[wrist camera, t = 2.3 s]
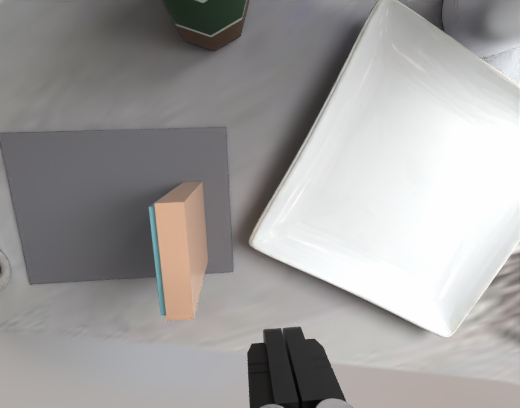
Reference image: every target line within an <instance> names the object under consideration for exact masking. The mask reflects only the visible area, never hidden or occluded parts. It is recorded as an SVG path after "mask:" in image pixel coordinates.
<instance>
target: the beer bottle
mask: <svg viewBox="0 0 520 408" xmlns="http://www.w3.org/2000/svg"><path fill="white" fill-rule="evenodd" d="M162 2H163V4H164V5H165V7H166V9H167V11H168V13H169V14H170V16H171V18H172V20H173V22H174V23H175V25H176V27H177V29H178V31H179V32H180V34H181V36H182V37H183V39H184V40H185V41H186V42H189V43H192V44H195V45H198V46H201V47H204V48H207V49H210V50H213V51H216V50H217V49H219V48H221V47H223V46H224V45H226V44H228V43H229V42H231V41H233V40H235V39H236V38H238V37H240V36H241V32H242V28H243V24H244V20H245V16H246V12H247V8H248V4H249V0H162Z"/></svg>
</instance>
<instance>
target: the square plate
mask: <svg viewBox="0 0 520 408" xmlns="http://www.w3.org/2000/svg"><path fill="white" fill-rule="evenodd" d="M519 242H520V84H518V83H517V82H515V81H514V80H512V79H511V78H509V77H508V76H506V75H505V74H503V73H502V72H500V71H499V70H497V69H496V68H494V67H493V66H492V65H490V64H489V63H487V62H486V61H484V60H483V59H481V58H480V57H479V56H477V55H476V54H474V53H473V52H471V51H470V50H469V49H467V48H466V47H464V46H463V45H462V44H460V43H459V42H457V41H456V40H455V39H453V38H452V37H450V36H449V35H448V34H446V33H445V32H443V31H442V30H440V29H439V28H437V27H436V26H435V25H433V24H432V23H430V22H429V21H428V20H426V19H425V18H423V17H422V16H421V15H419V14H418V13H416V12H415V11H413V10H412V9H410V8H409V7H407V6H406V5H404V4H402V3H401V2H399V1H398V0H378V1H377V3H376V4H375V6H374V7H373V9H372V11H371V13H370V14H369V16H368V18H367V20H366V22H365V24H364V25H363V27H362V29H361V31H360V33H359V35H358V37H357V39H356V41H355V43H354V45H353V47H352V49H351V51H350V53H349V55H348V57H347V59H346V61H345V63H344V65H343V67H342V69H341V71H340V73H339V75H338V77H337V79H336V81H335V83H334V85H333V87H332V89H331V91H330V93H329V95H328V97H327V99H326V101H325V103H324V105H323V107H322V108H321V110H320V112H319V114H318V116H317V118H316V120H315V122H314V124H313V125H312V127H311V129H310V131H309V133H308V135H307V136H306V138H305V140H304V142H303V144H302V145H301V147H300V149H299V151H298V153H297V154H296V156H295V158H294V160H293V161H292V163H291V165H290V167H289V168H288V170H287V172H286V174H285V175H284V177H283V179H282V180H281V182H280V184H279V185H278V187H277V189H276V190H275V192H274V194H273V195H272V197H271V199H270V201H269V202H268V204H267V206H266V207H265V209H264V211H263V213H262V214H261V216H260V218H259V220H258V221H257V223H256V225H255V227H254V229H253V231H252V233H251V235H250V238H249V245H250V246H251V247H252V248H254V249H255V250H257V251H259V252H261V253H263V254H265V255H267V256H269V257H271V258H274V259H276V260H278V261H280V262H282V263H285V264H287V265H289V266H291V267H294V268H296V269H298V270H301V271H303V272H305V273H308V274H310V275H312V276H314V277H317V278H319V279H321V280H323V281H326V282H328V283H330V284H332V285H334V286H336V287H339V288H341V289H343V290H345V291H347V292H350V293H352V294H354V295H356V296H358V297H360V298H362V299H364V300H366V301H368V302H371V303H373V304H375V305H377V306H379V307H381V308H383V309H385V310H387V311H389V312H391V313H393V314H395V315H397V316H399V317H401V318H403V319H405V320H407V321H408V322H411V323H413V324H415V325H417V326H419V327H421V328H423V329H425V330H427V331H429V332H431V333H434V334H436V335H438V336H441V337H444V338H448V337H451V336H452V335H453V334H454V333H455V332H456V330H457V329H458V327H459V326H460V324H461V323H462V322H463V320H464V319H465V318H466V316H467V315H468V313H469V312H470V311H471V309H472V308H473V307H474V305H475V304H476V302H477V301H478V300H479V298H480V297H481V295H482V294H483V293H484V291H485V290H486V289H487V287H488V286H489V284H490V283H491V282H492V280H493V279H494V277H495V276H496V275H497V273H498V272H499V270H500V269H501V267H502V266H503V265H504V263H505V262H506V260H507V259H508V258H509V256H510V255H511V253H512V252H513V250H514V249H515V248H516V246H517V245H518V243H519Z"/></svg>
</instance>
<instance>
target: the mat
mask: <svg viewBox="0 0 520 408" xmlns="http://www.w3.org/2000/svg"><path fill="white" fill-rule="evenodd" d="M0 143H1V148H2V152H3V157H4V162H5V167H6V171H7V176H8V181H9V186H10V190H11V195H12V200H13V205H14V209H15V214H16V219H17V224H18V228H19V233H20V238H21V243H22V247H23V252H24V257H25V262H26V266H27V271H28V276H29V281H30V284H45V283H61V282H77V281H94V280H110V279H126V278H143V277H156V269H155V260H154V251H153V242H152V233H151V224H150V215H149V206H151V205H152V204H153V203H155V202H156V201H158V200H159V199H160V198H162V197H163V196H165V195H166V194H167V193H169V192H170V191H171V190H173V189H174V188H176V187H177V186H179V185H180V184H181V183H183V182H202V183H203V197H204V211H205V225H206V239H207V254H208V263H207V267H206V271H205V274H208V273H224V272H233V255H232V236H231V217H230V198H229V178H228V159H227V140H226V127H213V128H174V129H136V130H97V131H58V132H20V133H0Z"/></svg>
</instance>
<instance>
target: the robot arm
mask: <svg viewBox="0 0 520 408" xmlns="http://www.w3.org/2000/svg"><path fill="white" fill-rule="evenodd" d="M442 22H443V27H444V31H445V33H446V34H448V35H449V36H450V37H452V38H453V39H455V40H456V41H457V42H459V43H460V44H462V45H463V46H464V47H466V48H467V49H469V50H470V51H471V52H473V53H474V54H476V55H477V56H479V57H480V58H485V57H489V56H493V55H496V54H499V53H502V52H504V51H507V50H510V49H513V48H516V47H519V46H520V0H444V2H443V8H442ZM263 335H264V343H255V344H252V345H251V347H250V349H249V351H248V353H247V356H248V379H249V399H250V408H354V407H353V406H351V405H350V404H348V403H347V402H346V400H345V398H344V395H343V393H342V391H341V388H340V386H339V383H338V381H337V379H336V376H335V374H334V372H333V369H332V368H331V364H330V362H329V360H328V358H327V355H326V353H325V350H324V348H323V346H322V345H320V344H319V343H318V342H317V341H316V340H315V339H305V338H304V335H303V332H302V329H301V327H290V328H283V335H282V331H281V328H277V329H264V330H263Z"/></svg>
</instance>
